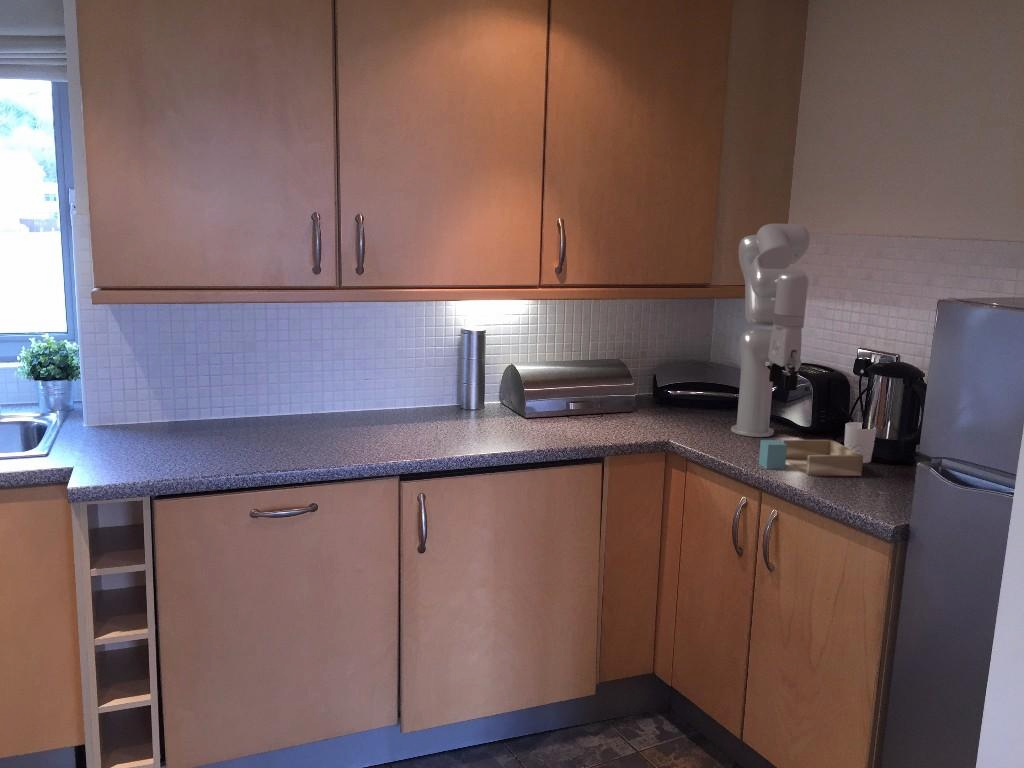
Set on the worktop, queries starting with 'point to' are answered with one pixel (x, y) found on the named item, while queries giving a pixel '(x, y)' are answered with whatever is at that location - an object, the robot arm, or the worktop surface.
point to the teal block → (772, 454)
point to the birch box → (823, 458)
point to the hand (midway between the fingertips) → (782, 385)
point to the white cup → (860, 440)
